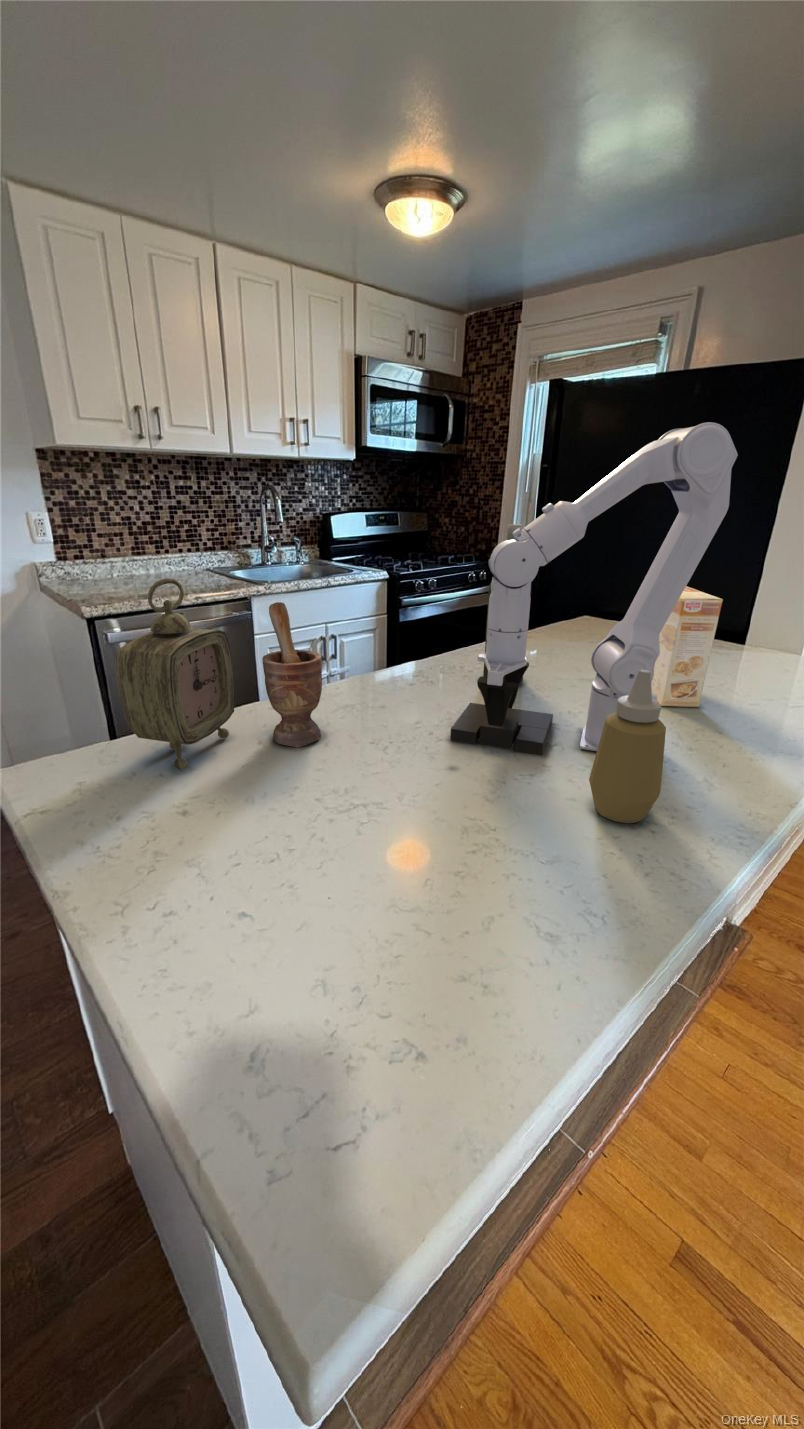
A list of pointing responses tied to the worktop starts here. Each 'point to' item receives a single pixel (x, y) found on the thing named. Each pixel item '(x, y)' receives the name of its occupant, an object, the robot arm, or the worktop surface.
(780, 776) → the worktop surface
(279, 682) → the mortar and pestle
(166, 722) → the tabletop clock
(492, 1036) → the worktop surface
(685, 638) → the coffeecake box
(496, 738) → the small dark rectangular block
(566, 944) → the worktop surface
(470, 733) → the base pad
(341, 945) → the worktop surface
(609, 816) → the squeeze bottle
